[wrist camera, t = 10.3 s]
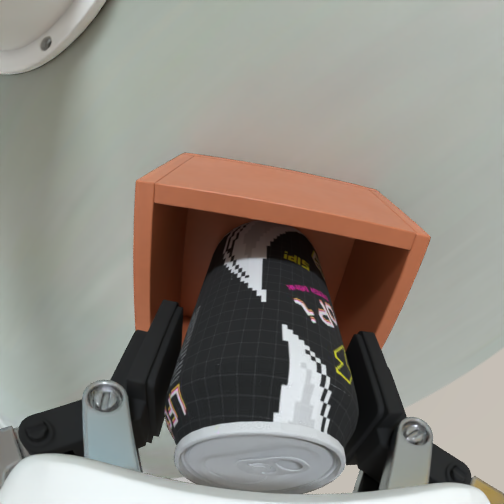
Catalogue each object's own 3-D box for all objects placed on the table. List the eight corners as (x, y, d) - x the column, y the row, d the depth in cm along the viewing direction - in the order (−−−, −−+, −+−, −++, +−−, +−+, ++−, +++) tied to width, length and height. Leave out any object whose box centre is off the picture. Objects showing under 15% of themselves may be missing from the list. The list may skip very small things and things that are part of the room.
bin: (170, 315, 20) (140, 390, 14) (183, 152, 16) (135, 180, 10) (326, 340, 21) (341, 419, 15) (377, 189, 16) (432, 236, 10)
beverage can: (335, 277, 18) (394, 474, 7) (252, 322, 19) (237, 513, 8) (280, 193, 16) (306, 382, 5) (192, 251, 17) (108, 444, 7)
